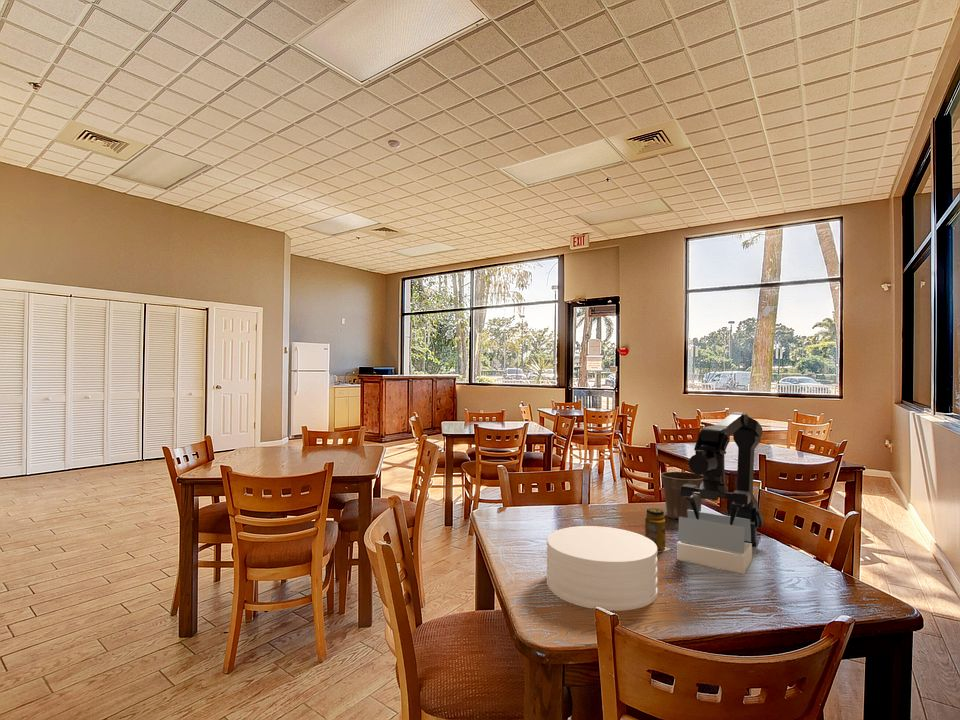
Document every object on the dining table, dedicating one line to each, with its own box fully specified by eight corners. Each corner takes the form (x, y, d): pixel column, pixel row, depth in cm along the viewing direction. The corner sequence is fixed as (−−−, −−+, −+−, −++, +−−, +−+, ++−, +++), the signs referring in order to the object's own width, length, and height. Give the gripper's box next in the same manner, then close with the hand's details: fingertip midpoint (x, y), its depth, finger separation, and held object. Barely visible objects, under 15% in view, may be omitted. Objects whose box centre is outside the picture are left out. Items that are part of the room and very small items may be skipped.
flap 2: (743, 553, 141) (743, 553, 141) (678, 540, 152) (677, 540, 151) (744, 527, 143) (744, 527, 142) (679, 516, 153) (679, 516, 153)
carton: (688, 547, 162) (688, 532, 162) (751, 560, 151) (751, 543, 151) (677, 559, 151) (677, 542, 151) (744, 574, 141) (744, 556, 141)
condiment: (671, 549, 161) (671, 511, 161) (654, 554, 156) (653, 515, 156) (652, 542, 167) (652, 506, 167) (634, 547, 162) (634, 509, 162)
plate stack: (681, 595, 128) (681, 549, 128) (597, 621, 114) (597, 570, 114) (603, 559, 152) (603, 520, 152) (525, 577, 138) (526, 535, 138)
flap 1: (688, 530, 161) (688, 530, 162) (750, 542, 151) (751, 541, 151) (687, 510, 160) (687, 509, 161) (749, 519, 150) (750, 519, 150)
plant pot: (652, 512, 204) (652, 471, 204) (689, 510, 207) (689, 470, 207) (675, 524, 188) (675, 480, 188) (714, 521, 191) (714, 478, 191)
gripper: (674, 470, 151) (674, 523, 151) (744, 478, 140) (744, 535, 140) (684, 465, 160) (684, 515, 160) (750, 472, 149) (751, 526, 149)
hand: (714, 522), depth 152 cm, fingers open, 9 cm apart
